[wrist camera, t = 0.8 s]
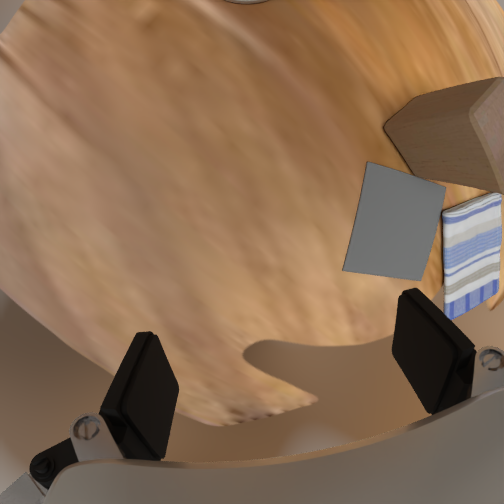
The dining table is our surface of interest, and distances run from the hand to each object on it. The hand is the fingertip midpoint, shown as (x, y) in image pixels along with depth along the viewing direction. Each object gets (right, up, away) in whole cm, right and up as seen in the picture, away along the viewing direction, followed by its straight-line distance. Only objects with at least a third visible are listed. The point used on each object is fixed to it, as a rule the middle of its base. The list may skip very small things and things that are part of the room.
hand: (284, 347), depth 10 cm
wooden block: (+24, +22, +26) cm, 42 cm away
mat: (+22, +8, +31) cm, 39 cm away
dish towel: (+41, +3, +33) cm, 53 cm away
